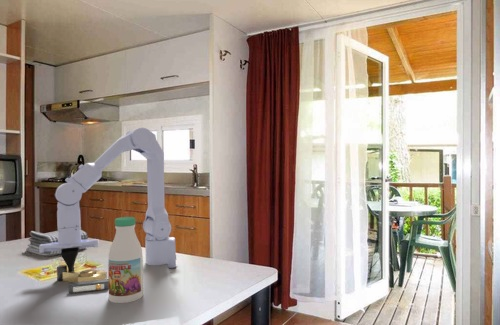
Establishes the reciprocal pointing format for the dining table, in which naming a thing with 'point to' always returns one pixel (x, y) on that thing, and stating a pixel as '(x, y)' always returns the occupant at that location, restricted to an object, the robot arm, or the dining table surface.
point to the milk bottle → (125, 263)
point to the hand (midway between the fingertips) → (71, 275)
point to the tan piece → (79, 275)
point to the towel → (46, 242)
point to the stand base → (88, 286)
